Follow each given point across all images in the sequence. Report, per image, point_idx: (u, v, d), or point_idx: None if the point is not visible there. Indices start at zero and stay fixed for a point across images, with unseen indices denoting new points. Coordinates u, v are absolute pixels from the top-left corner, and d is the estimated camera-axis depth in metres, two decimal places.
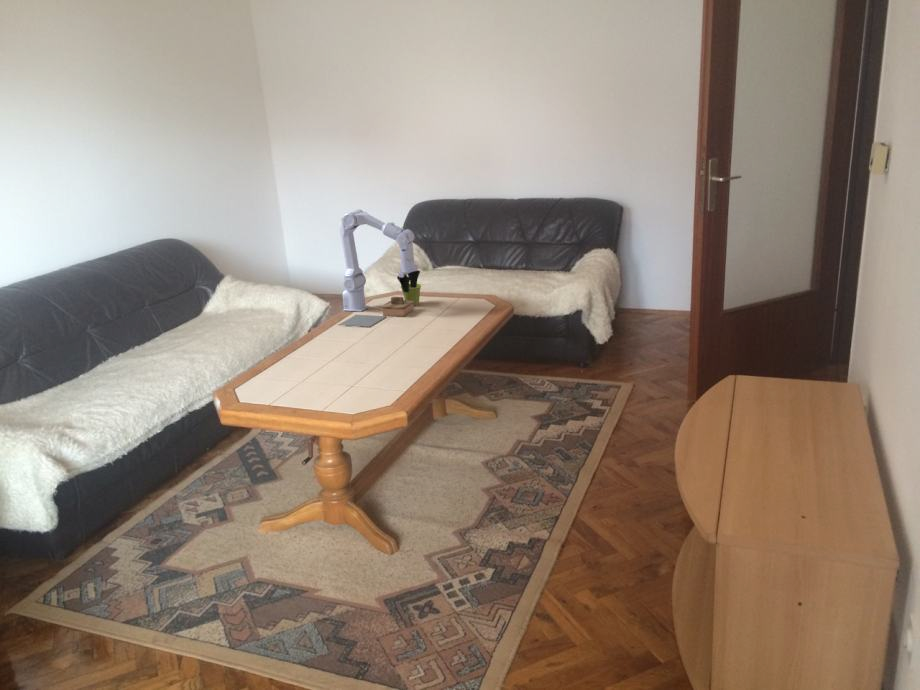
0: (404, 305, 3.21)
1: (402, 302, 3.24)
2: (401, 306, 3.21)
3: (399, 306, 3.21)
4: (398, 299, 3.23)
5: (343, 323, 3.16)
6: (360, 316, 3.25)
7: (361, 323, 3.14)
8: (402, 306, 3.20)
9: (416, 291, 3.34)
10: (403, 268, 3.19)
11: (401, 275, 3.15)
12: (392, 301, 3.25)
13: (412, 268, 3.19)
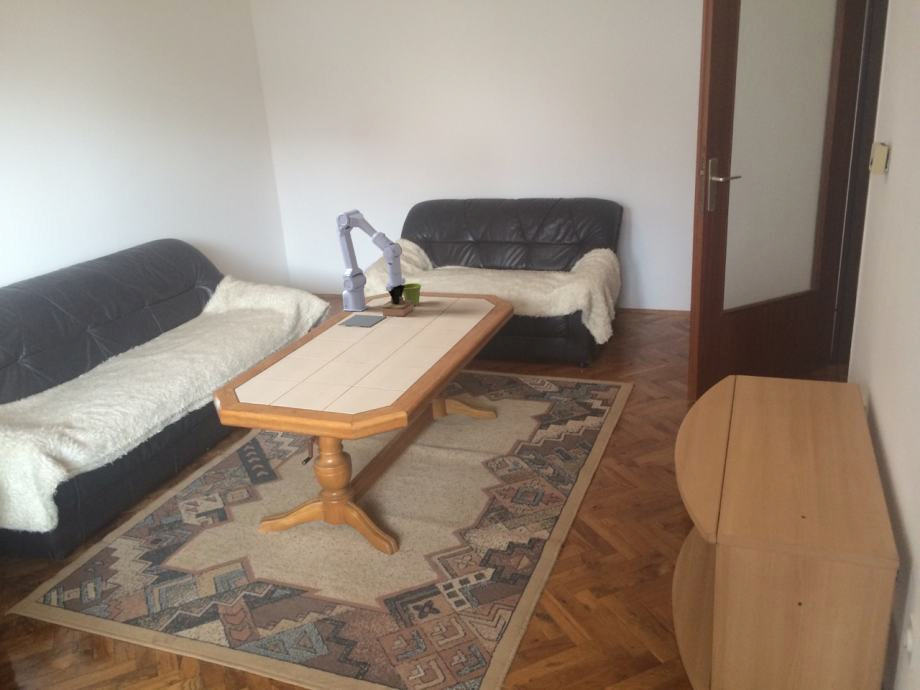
0: (404, 305, 3.21)
1: (402, 302, 3.24)
2: (401, 306, 3.21)
3: (399, 306, 3.21)
4: None
5: (343, 323, 3.16)
6: (360, 316, 3.25)
7: (361, 323, 3.14)
8: (402, 306, 3.20)
9: (416, 291, 3.34)
10: (390, 281, 3.20)
11: (388, 289, 3.16)
12: (392, 301, 3.25)
13: (399, 281, 3.20)
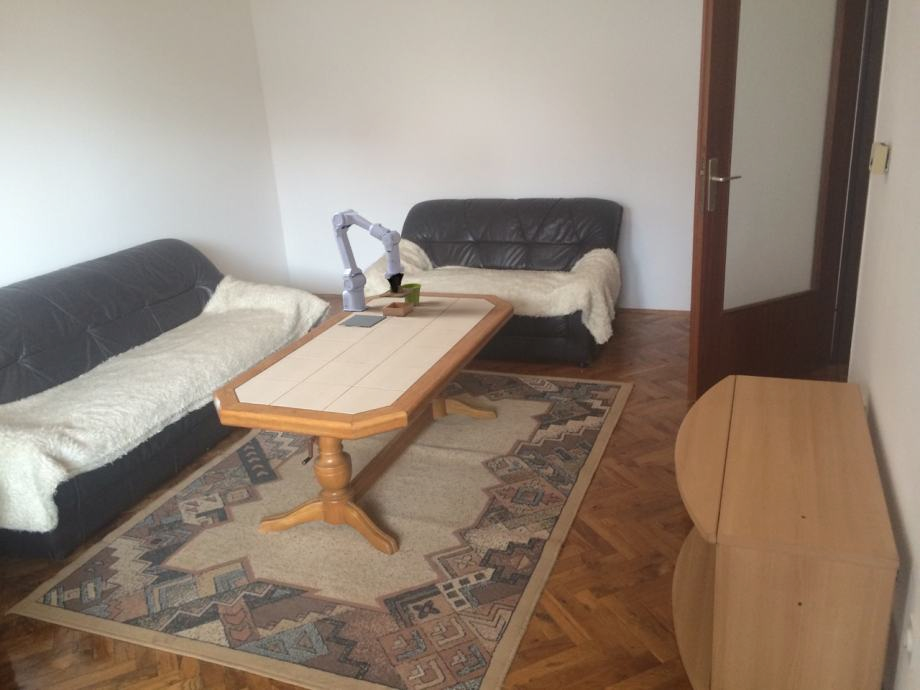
0: (403, 294, 3.20)
1: (401, 291, 3.22)
2: (400, 294, 3.19)
3: (398, 295, 3.19)
4: None
5: (343, 323, 3.16)
6: (360, 316, 3.25)
7: (361, 323, 3.14)
8: (401, 295, 3.19)
9: (416, 291, 3.34)
10: (389, 269, 3.18)
11: (387, 276, 3.14)
12: (391, 290, 3.23)
13: (398, 269, 3.18)
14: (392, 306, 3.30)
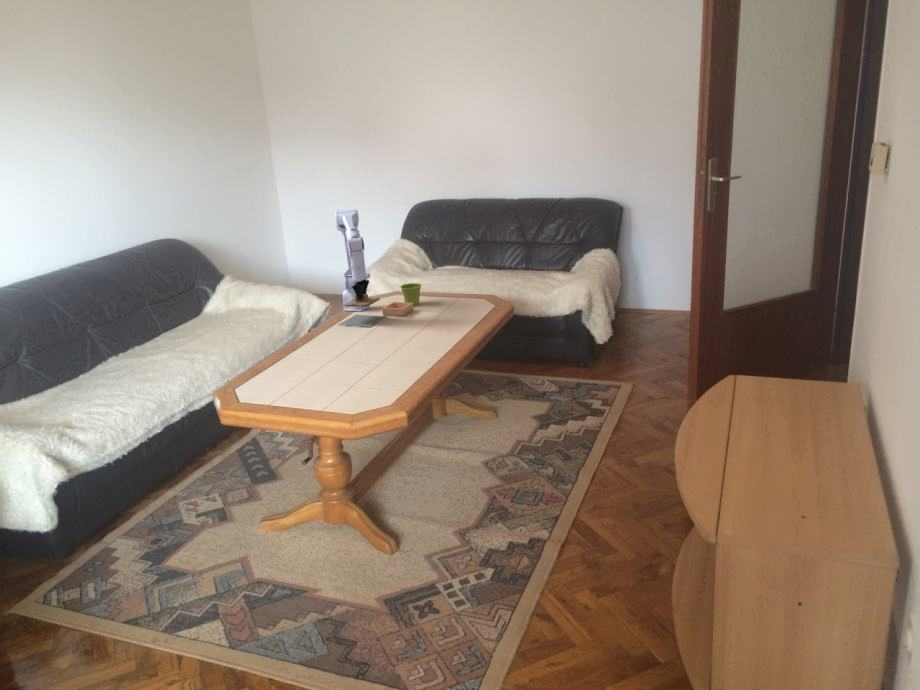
0: (368, 302, 3.12)
1: (366, 299, 3.14)
2: (365, 303, 3.11)
3: (363, 303, 3.11)
4: None
5: (343, 323, 3.16)
6: (360, 316, 3.25)
7: (361, 323, 3.14)
8: (366, 303, 3.11)
9: (416, 291, 3.34)
10: (354, 276, 3.10)
11: (351, 284, 3.06)
12: (356, 299, 3.15)
13: (363, 276, 3.10)
14: (392, 306, 3.30)
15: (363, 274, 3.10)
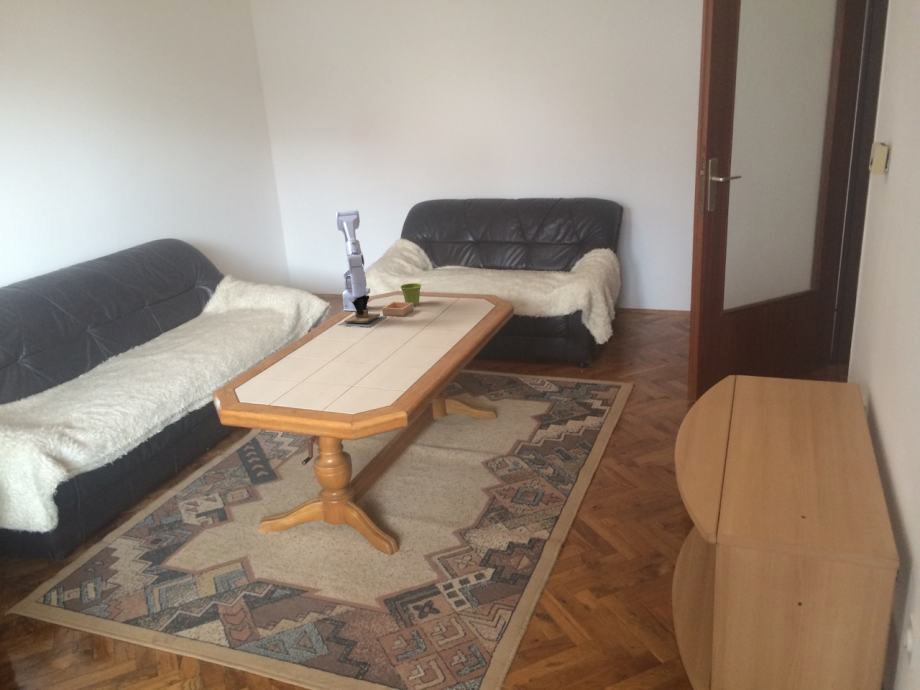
0: (368, 318, 3.14)
1: (366, 315, 3.16)
2: (365, 319, 3.13)
3: (363, 319, 3.13)
4: None
5: (343, 323, 3.16)
6: None
7: (361, 323, 3.14)
8: (366, 319, 3.13)
9: (416, 291, 3.34)
10: (354, 292, 3.12)
11: (351, 299, 3.08)
12: (356, 315, 3.17)
13: (363, 292, 3.12)
14: (392, 306, 3.30)
15: (363, 290, 3.12)
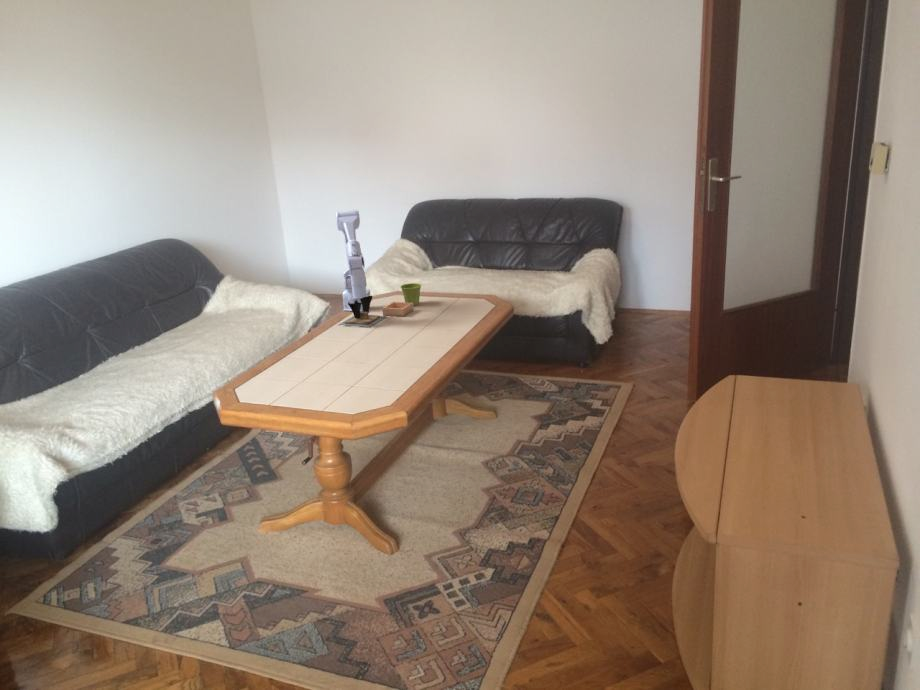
0: (368, 320, 3.14)
1: (367, 317, 3.17)
2: (365, 321, 3.13)
3: (363, 321, 3.13)
4: (363, 314, 3.16)
5: (343, 323, 3.16)
6: None
7: None
8: (366, 321, 3.13)
9: (416, 291, 3.34)
10: (354, 294, 3.12)
11: (351, 301, 3.08)
12: None
13: (363, 294, 3.12)
14: (392, 306, 3.30)
15: (363, 291, 3.12)
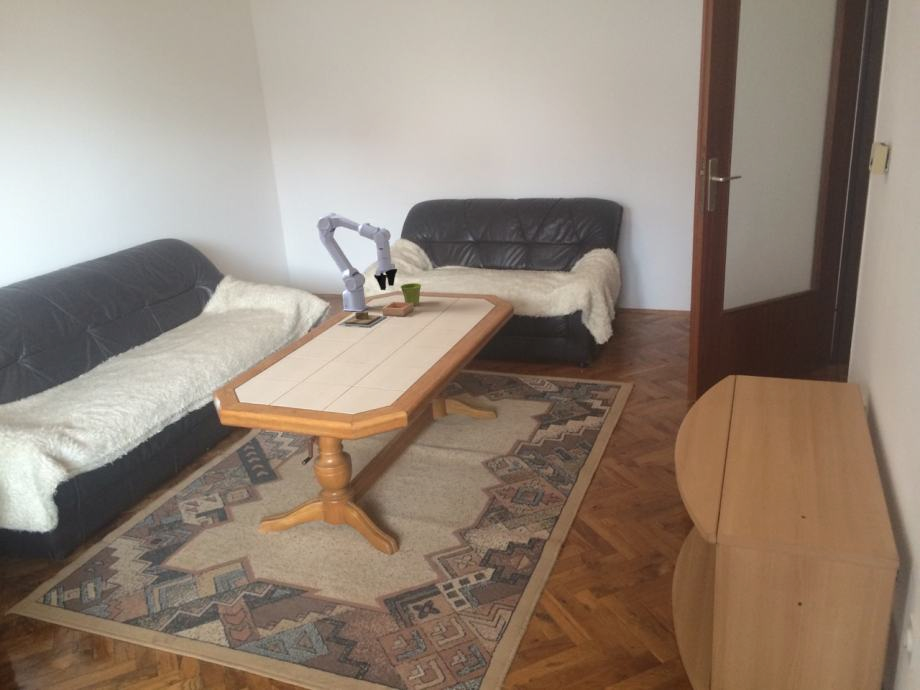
0: (368, 320, 3.14)
1: (367, 317, 3.17)
2: (365, 321, 3.13)
3: (363, 321, 3.13)
4: (363, 314, 3.16)
5: (343, 323, 3.16)
6: None
7: None
8: (366, 321, 3.13)
9: (416, 291, 3.34)
10: (380, 266, 3.25)
11: (378, 273, 3.21)
12: (357, 316, 3.17)
13: (389, 266, 3.25)
14: (392, 306, 3.30)
15: (389, 264, 3.25)
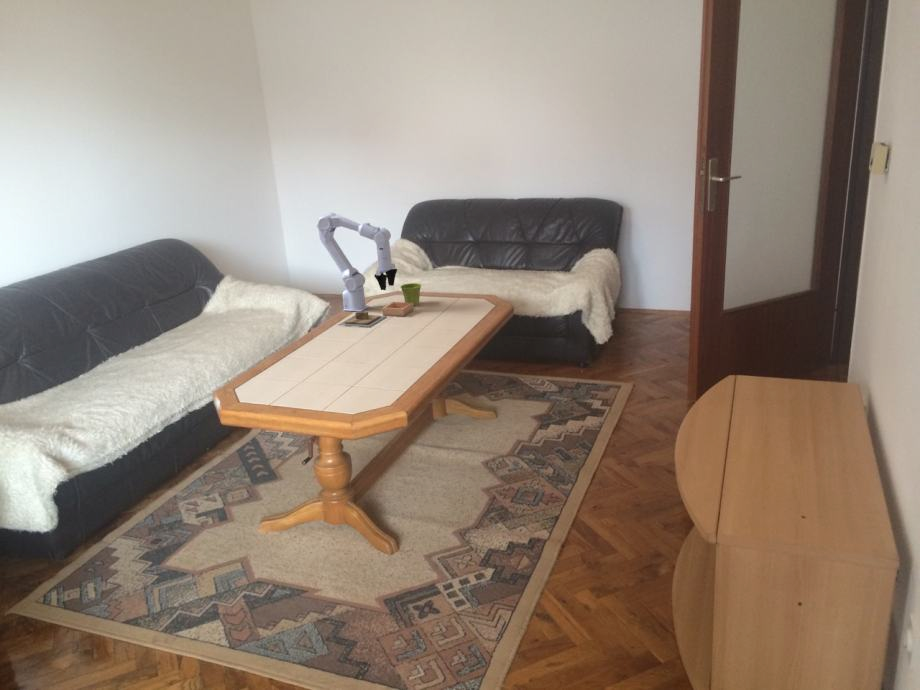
0: (368, 320, 3.14)
1: (367, 317, 3.17)
2: (365, 321, 3.13)
3: (363, 321, 3.13)
4: (363, 314, 3.16)
5: (343, 323, 3.16)
6: None
7: None
8: (366, 321, 3.13)
9: (416, 291, 3.34)
10: (380, 266, 3.25)
11: (378, 273, 3.21)
12: (357, 316, 3.17)
13: (389, 266, 3.25)
14: (392, 306, 3.30)
15: (389, 264, 3.25)
